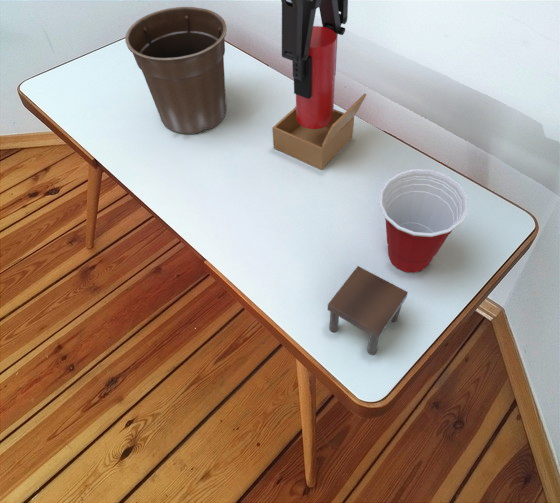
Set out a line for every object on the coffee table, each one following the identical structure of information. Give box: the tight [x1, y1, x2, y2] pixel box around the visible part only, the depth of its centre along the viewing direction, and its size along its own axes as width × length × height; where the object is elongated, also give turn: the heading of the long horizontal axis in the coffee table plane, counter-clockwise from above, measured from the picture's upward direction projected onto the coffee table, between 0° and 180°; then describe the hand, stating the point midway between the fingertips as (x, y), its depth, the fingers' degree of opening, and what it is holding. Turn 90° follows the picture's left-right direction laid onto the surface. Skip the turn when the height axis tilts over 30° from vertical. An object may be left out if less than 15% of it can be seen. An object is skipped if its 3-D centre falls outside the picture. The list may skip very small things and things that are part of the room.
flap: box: [322, 92, 367, 146], centre depth 81 cm, size 5×10×1 cm
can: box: [295, 25, 338, 129], centre depth 79 cm, size 6×6×14 cm
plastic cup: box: [378, 168, 469, 274], centre depth 68 cm, size 11×11×12 cm
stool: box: [327, 265, 409, 356], centre depth 64 cm, size 7×7×6 cm
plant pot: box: [124, 6, 228, 135], centre depth 89 cm, size 16×16×16 cm
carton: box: [272, 106, 355, 171], centre depth 87 cm, size 10×10×4 cm
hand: (315, 83), depth 80 cm, fingers closed on can, 6 cm apart
